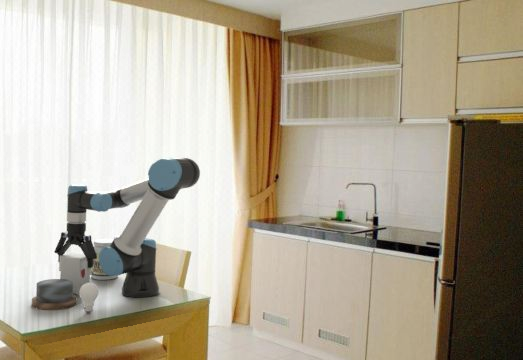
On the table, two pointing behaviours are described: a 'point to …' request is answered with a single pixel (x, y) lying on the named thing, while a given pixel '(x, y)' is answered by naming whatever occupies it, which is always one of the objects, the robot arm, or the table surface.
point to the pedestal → (54, 295)
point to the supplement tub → (96, 269)
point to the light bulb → (88, 295)
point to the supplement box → (74, 270)
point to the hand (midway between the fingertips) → (74, 273)
